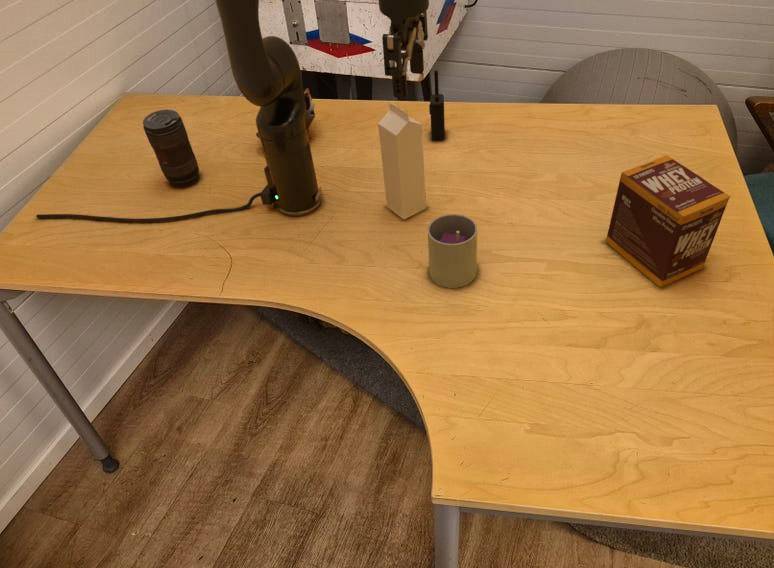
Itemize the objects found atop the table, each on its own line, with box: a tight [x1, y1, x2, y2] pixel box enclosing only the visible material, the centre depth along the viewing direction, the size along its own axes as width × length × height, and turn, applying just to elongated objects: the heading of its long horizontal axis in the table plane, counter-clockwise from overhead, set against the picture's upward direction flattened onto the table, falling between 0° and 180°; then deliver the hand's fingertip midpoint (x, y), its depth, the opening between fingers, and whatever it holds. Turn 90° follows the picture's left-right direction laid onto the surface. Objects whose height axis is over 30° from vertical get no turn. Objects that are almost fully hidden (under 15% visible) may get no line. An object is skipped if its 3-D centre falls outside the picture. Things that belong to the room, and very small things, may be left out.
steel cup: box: [427, 213, 478, 289], centre depth 114 cm, size 9×9×10 cm
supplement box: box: [605, 155, 731, 288], centre depth 112 cm, size 10×15×16 cm
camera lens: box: [142, 109, 200, 189], centre depth 138 cm, size 8×8×15 cm
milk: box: [377, 102, 427, 221], centre depth 124 cm, size 6×6×22 cm
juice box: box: [440, 231, 466, 244], centre depth 114 cm, size 4×3×9 cm
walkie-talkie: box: [428, 70, 446, 142], centre depth 144 cm, size 5×3×15 cm
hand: (409, 84), depth 104 cm, fingers open, 8 cm apart
